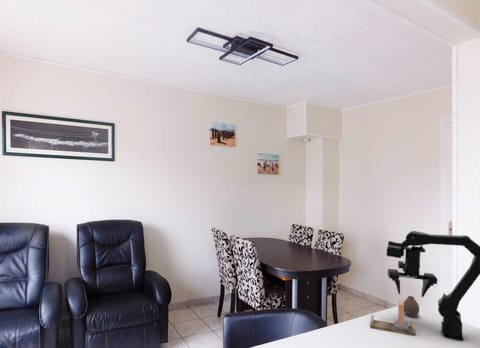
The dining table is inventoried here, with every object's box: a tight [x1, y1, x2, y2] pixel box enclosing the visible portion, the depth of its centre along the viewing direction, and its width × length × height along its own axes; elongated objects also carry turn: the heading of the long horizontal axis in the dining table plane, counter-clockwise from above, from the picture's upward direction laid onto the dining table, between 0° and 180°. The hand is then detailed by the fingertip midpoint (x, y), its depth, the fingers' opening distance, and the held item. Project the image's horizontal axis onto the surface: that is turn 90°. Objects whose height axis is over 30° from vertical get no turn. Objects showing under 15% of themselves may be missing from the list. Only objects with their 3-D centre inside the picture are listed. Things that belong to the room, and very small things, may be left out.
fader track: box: [370, 314, 416, 337], centre depth 139 cm, size 17×7×3 cm, turn 66°
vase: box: [403, 295, 420, 318], centre depth 153 cm, size 7×7×9 cm
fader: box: [393, 300, 409, 331], centre depth 138 cm, size 5×6×10 cm
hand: (410, 295), depth 142 cm, fingers open, 9 cm apart
